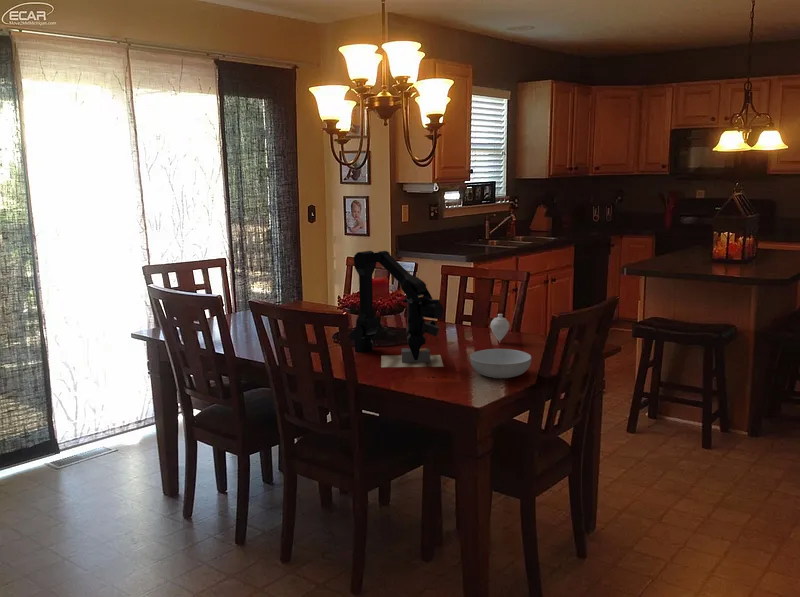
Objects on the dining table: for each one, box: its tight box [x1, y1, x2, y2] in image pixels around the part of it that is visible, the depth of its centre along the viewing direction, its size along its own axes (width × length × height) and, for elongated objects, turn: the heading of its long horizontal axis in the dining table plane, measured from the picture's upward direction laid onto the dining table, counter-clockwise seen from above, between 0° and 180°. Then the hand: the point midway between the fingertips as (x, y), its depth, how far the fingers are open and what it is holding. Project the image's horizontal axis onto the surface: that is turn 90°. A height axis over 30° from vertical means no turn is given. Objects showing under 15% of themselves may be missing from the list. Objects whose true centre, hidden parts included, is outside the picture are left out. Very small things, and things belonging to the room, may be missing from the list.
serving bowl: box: [469, 348, 532, 380], centre depth 249 cm, size 21×21×7 cm
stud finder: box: [401, 347, 431, 363], centre depth 262 cm, size 10×5×4 cm, turn 91°
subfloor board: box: [380, 354, 445, 368], centre depth 262 cm, size 22×16×2 cm
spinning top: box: [490, 313, 511, 344], centre depth 294 cm, size 8×8×12 cm
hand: (415, 358), depth 262 cm, fingers closed on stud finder, 5 cm apart
